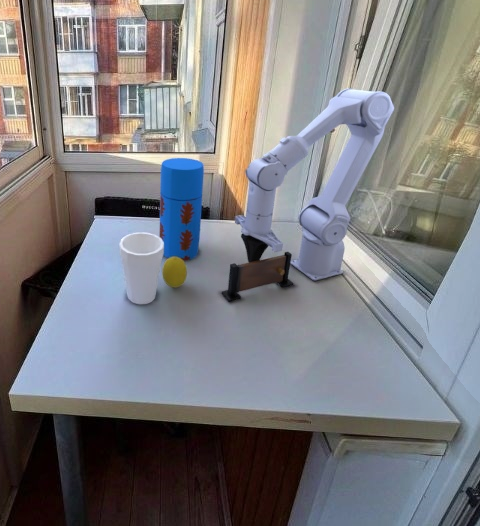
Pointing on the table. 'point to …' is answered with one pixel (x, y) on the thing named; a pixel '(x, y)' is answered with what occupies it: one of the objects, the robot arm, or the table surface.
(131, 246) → the foam cup
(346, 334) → the table surface
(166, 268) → the lemon
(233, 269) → the door frame
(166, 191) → the thermos
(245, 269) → the door
